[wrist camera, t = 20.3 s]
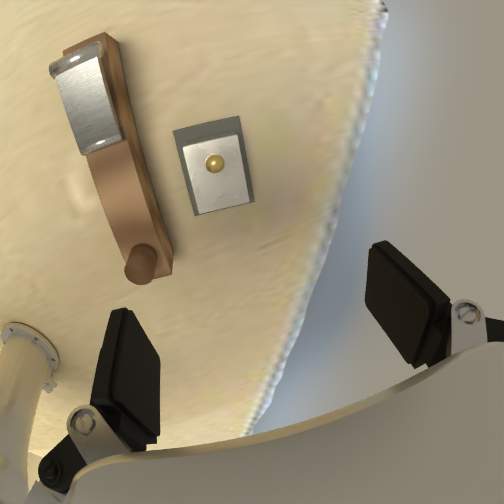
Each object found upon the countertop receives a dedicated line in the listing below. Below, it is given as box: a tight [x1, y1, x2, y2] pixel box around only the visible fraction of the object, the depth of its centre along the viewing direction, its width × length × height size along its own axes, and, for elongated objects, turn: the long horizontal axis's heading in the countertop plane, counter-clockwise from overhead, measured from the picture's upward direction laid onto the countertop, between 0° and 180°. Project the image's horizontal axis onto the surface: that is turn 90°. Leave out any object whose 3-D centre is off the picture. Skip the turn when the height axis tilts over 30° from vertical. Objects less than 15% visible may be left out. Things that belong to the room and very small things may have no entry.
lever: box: [49, 41, 123, 155], centre depth 18 cm, size 2×5×10 cm
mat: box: [173, 116, 254, 216], centre depth 30 cm, size 10×7×1 cm
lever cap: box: [183, 131, 250, 214], centre depth 28 cm, size 7×5×4 cm
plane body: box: [63, 32, 174, 285], centre depth 24 cm, size 26×4×8 cm, turn 10°
